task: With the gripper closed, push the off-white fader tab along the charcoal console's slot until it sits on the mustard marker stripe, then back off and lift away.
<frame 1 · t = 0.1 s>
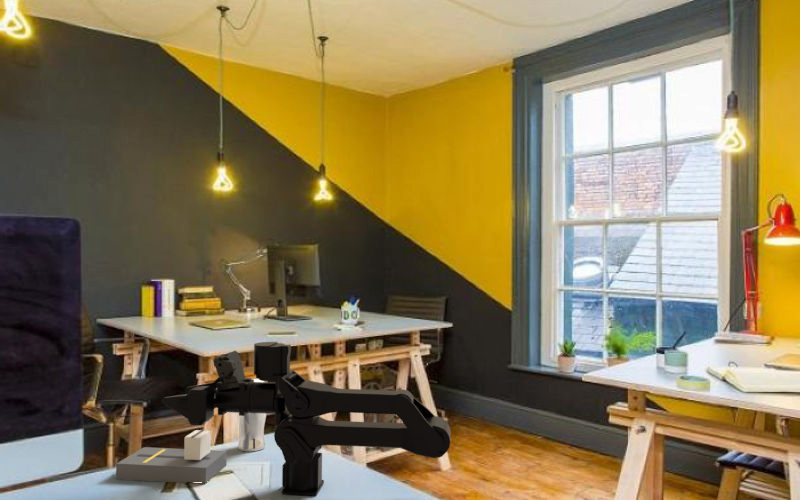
hand: (175, 395, 111), 17 cm above the table, tool horizontal, fingers open, 9 cm apart
beer glass: (251, 448, 132), on the table
fader console: (173, 472, 116), on the table
fader tab: (197, 444, 116), point 6 cm above the table, slide at 1.0 cm
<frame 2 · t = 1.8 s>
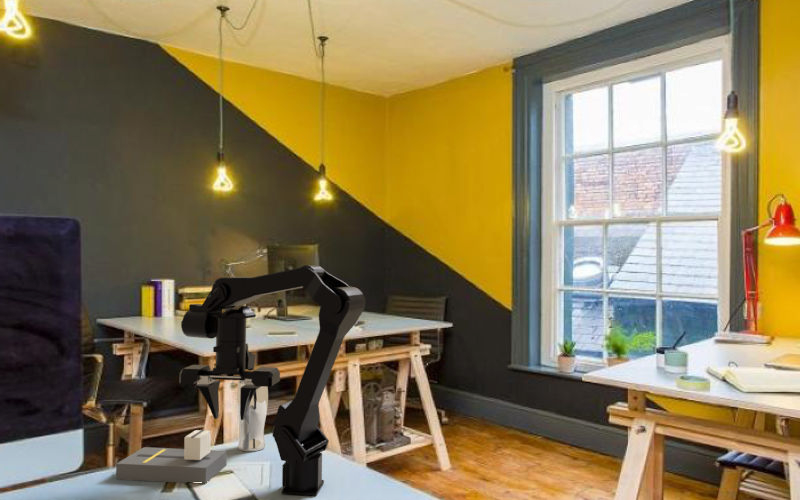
hand: (229, 418, 115), 11 cm above the table, tool pointing down, fingers open, 5 cm apart
nothing on the table moved.
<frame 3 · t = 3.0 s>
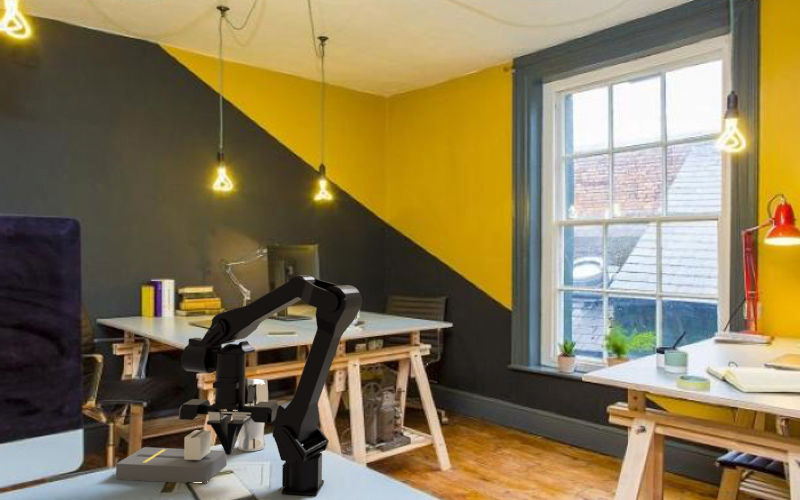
hand: (229, 454, 115), 4 cm above the table, tool pointing down, fingers closed
nothing on the table moved.
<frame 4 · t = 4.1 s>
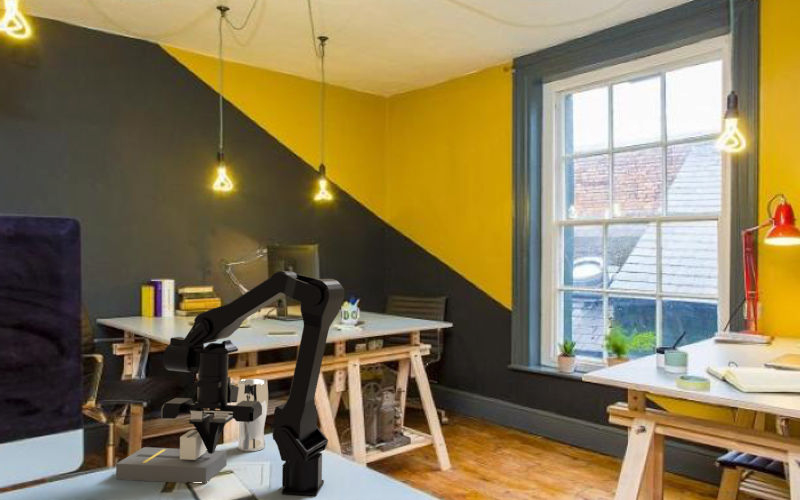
hand: (211, 452, 116), 4 cm above the table, tool pointing down, fingers closed
fader tab: (193, 444, 116), point 6 cm above the table, slide at 1.9 cm, touching gripper
everything else where it was.
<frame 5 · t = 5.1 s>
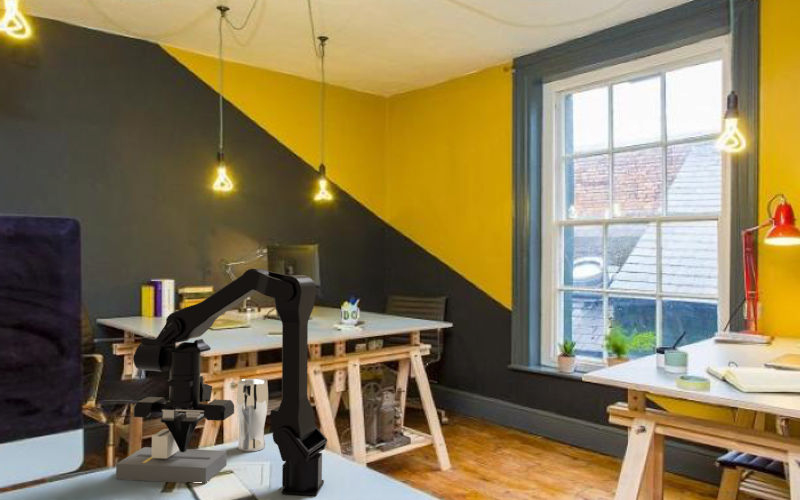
hand: (183, 451, 116), 4 cm above the table, tool pointing down, fingers closed
fader tab: (165, 442, 117), point 6 cm above the table, slide at 7.7 cm, touching gripper
everything else where it was.
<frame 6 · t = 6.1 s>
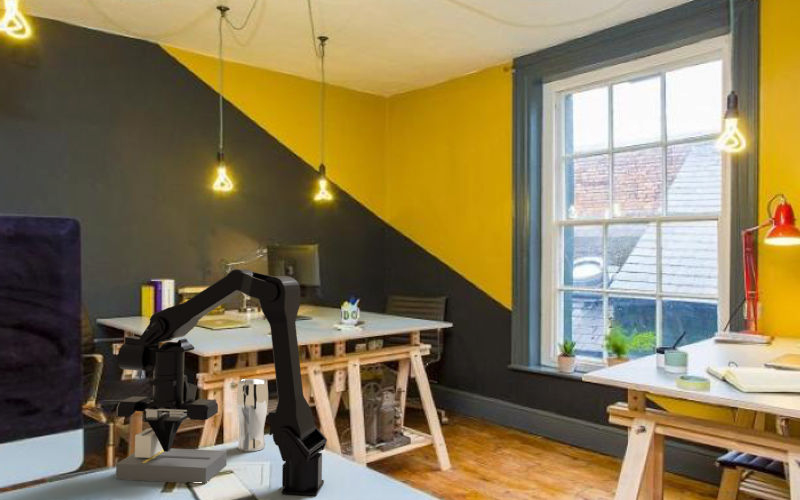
hand: (167, 450, 117), 4 cm above the table, tool pointing down, fingers closed
fader tab: (149, 442, 117), point 6 cm above the table, slide at 11.2 cm, touching gripper
everything else where it was.
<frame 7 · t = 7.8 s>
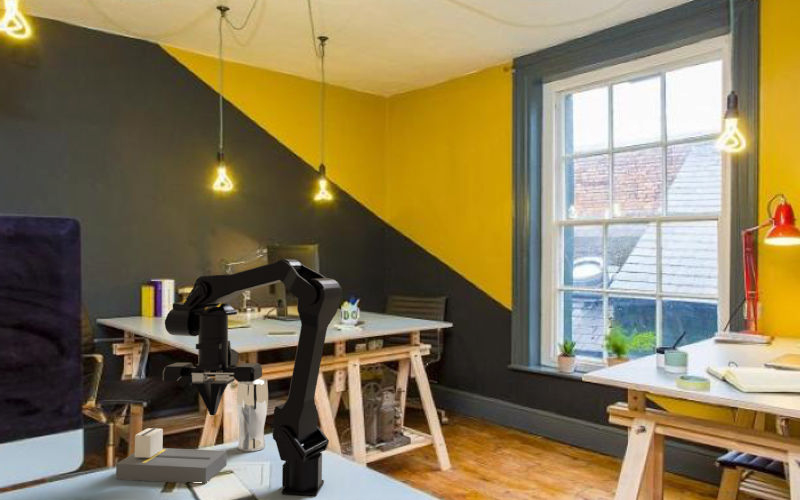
hand: (213, 414, 117), 11 cm above the table, tool pointing down, fingers closed
fader tab: (149, 442, 117), point 6 cm above the table, slide at 11.2 cm
everything else where it was.
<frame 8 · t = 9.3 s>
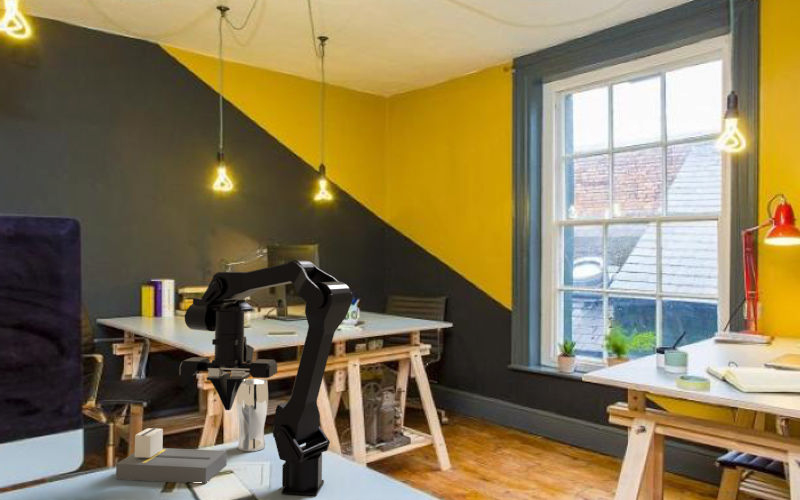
hand: (228, 409, 119), 12 cm above the table, tool pointing down, fingers closed
nothing on the table moved.
at the end: fader tab slide at 11.2 cm; beer glass moved 0.2 cm from its start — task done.
